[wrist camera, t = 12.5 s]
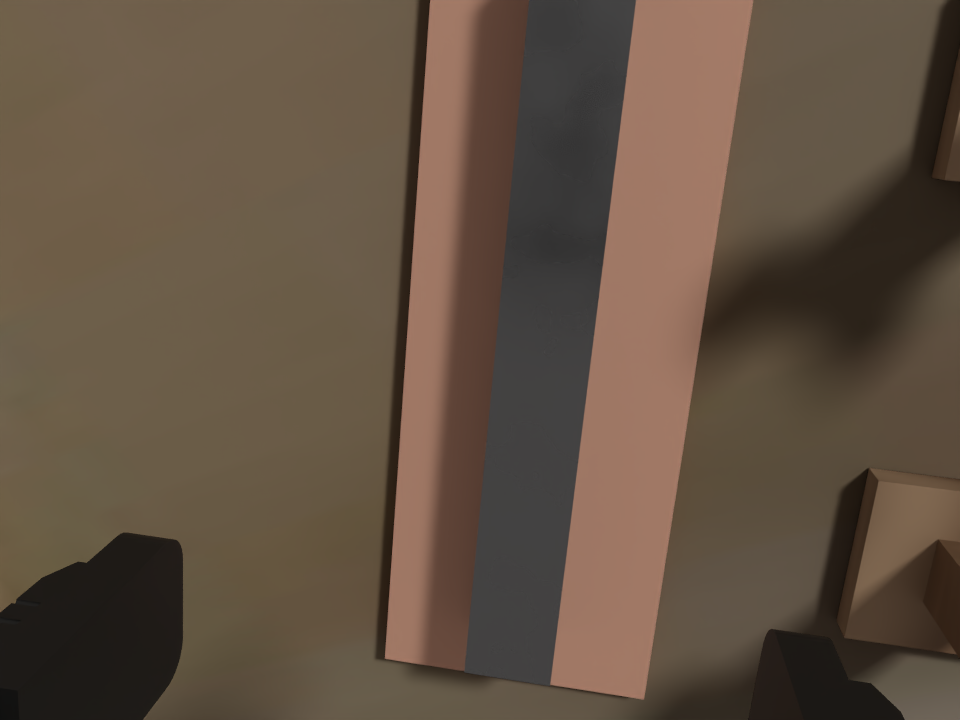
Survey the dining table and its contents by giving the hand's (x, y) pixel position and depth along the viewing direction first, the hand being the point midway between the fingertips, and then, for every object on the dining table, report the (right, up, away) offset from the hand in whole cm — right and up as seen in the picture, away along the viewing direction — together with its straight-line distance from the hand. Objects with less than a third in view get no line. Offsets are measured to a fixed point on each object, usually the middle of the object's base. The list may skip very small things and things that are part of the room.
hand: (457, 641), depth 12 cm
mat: (+3, +5, +20) cm, 21 cm away
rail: (+3, +5, +19) cm, 20 cm away
